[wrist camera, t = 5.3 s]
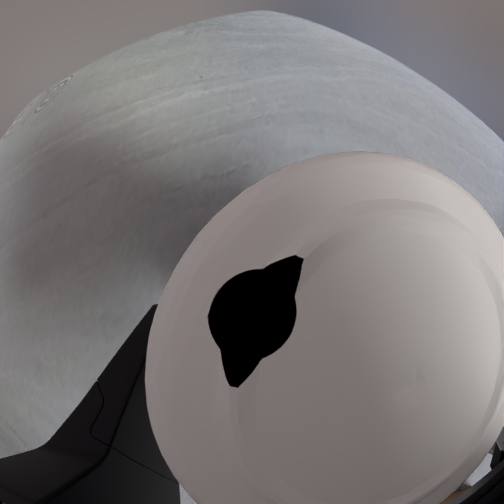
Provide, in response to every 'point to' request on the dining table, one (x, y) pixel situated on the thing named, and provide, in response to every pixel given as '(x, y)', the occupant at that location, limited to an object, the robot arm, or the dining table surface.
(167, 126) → the dining table surface
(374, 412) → the sprinkles bottle
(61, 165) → the dining table surface
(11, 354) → the dining table surface
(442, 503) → the walnut cube
